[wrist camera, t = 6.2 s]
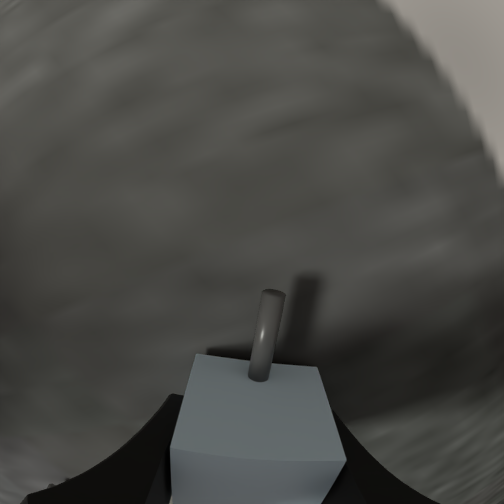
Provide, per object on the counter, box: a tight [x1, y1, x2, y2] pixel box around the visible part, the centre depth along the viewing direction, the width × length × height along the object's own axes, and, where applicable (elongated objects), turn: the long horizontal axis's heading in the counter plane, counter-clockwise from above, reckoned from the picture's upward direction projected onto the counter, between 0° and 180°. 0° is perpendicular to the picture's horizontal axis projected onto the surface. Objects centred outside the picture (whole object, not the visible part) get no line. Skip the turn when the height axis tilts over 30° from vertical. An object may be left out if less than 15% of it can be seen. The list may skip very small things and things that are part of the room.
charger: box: [170, 289, 346, 504], centre depth 9 cm, size 9×4×5 cm, turn 172°
